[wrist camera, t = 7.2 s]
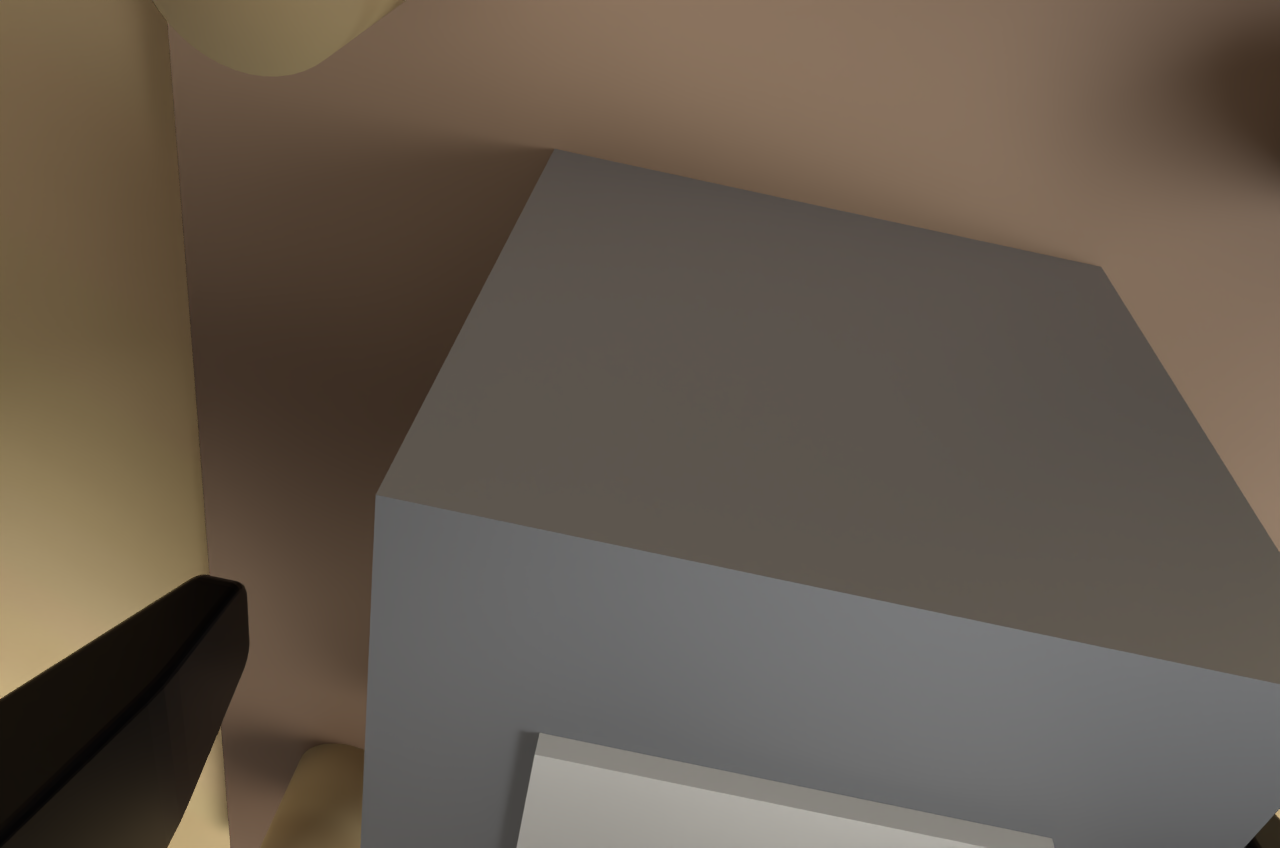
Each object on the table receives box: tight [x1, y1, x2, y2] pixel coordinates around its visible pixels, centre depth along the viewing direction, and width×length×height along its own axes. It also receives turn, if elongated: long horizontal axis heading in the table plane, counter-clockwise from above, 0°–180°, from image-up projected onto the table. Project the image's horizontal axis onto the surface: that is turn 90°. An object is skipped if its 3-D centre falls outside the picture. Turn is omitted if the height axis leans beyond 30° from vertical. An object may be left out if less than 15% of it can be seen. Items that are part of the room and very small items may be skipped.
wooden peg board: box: [152, 0, 1280, 848], centre depth 11 cm, size 18×12×3 cm, turn 169°
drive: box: [360, 149, 1280, 848], centre depth 9 cm, size 8×5×5 cm, turn 170°
